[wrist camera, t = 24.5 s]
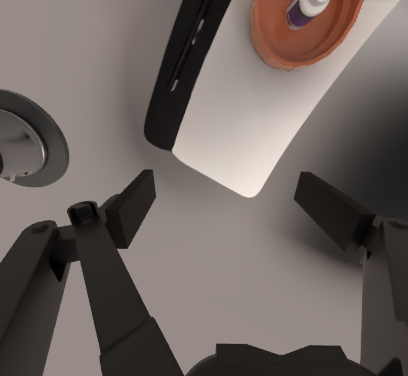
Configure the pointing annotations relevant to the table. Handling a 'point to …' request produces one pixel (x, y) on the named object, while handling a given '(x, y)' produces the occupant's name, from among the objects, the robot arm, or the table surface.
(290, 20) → the pill bottle
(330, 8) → the bowl
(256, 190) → the table surface
